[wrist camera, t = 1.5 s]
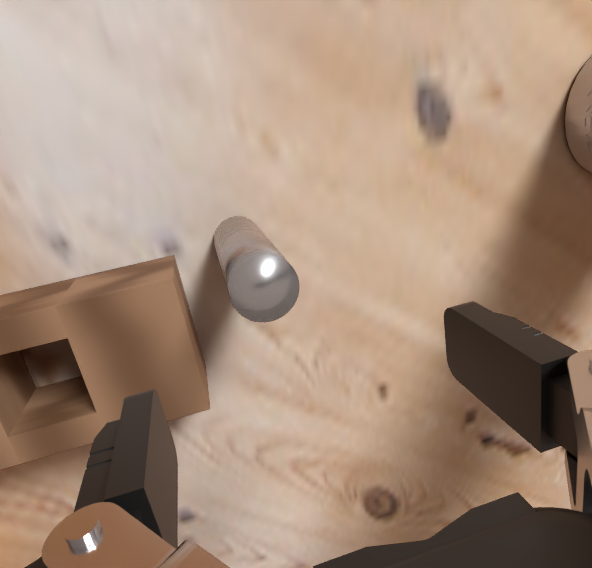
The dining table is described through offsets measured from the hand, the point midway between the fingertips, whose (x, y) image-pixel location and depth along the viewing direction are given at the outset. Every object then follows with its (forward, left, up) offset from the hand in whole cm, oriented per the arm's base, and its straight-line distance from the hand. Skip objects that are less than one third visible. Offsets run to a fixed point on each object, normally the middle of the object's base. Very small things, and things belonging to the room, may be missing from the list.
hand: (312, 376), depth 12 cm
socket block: (+12, +4, -18) cm, 22 cm away
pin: (0, 0, -18) cm, 18 cm away
